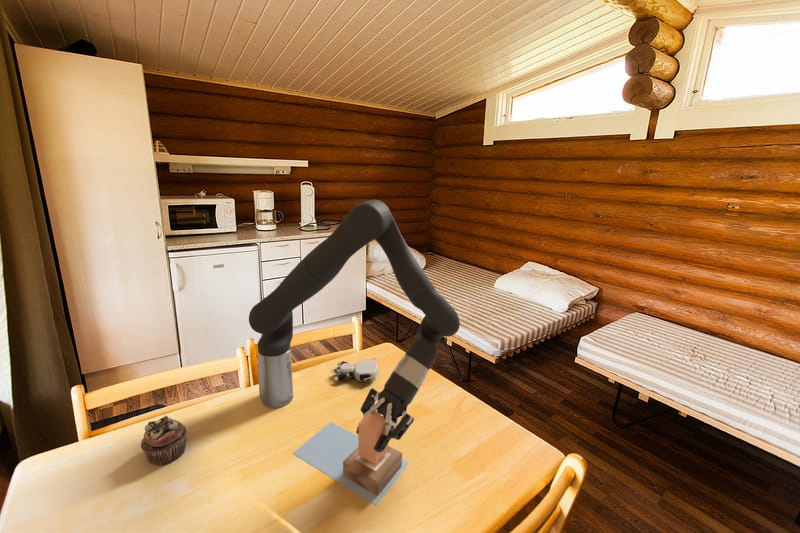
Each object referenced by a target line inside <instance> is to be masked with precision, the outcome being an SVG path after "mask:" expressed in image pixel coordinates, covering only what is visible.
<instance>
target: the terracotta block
mask: <svg viewBox="0 0 800 533" xmlns="http://www.w3.org/2000/svg"><path fill="white" fill-rule="evenodd" d="M385 419H386V418H385V417H384V416H383V415H379V414H377V413H371V412H370V413H369V414H368V415H367V416H366V417H365V418H363V417H362V419H361V420H360V421H359V422H358V425H357V427H358V434H357V436H358V455H359V456H360V457H362V458H364V459H366V460H368V461H369V462H371V463H373V464H375V465H376V464H377V463H378V462H379V461H380V459H381V458H382V457H383V456H384V455H385V454H386V453H387V452H388V446H389V443H388V444H387V446H386V447H385V449H384V450H383V451H381V452H380V453H379V452H377V451H375V450H374V447H375V445H376V444H377V442H378V440H379V438H380V437H381V435H382V434H384V430H385V425H386V424H385Z"/></svg>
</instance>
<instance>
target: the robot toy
mask: <svg viewBox="0 0 800 533" xmlns="http://www.w3.org/2000/svg"><path fill="white" fill-rule="evenodd" d="M376 359H378V357H373V358H361V359H360V360H358V361H357V362H356V363H355V364H354V363H350V362H348V361H338V362H337V367H336V368H335V369H334V372H335V374H336V376H334V377H333V381H335V382H338V381H339V382H341V381H344V380H346V379H350V378H353V377H354V378H355V380H357V381H358V382H370V381H373V380H375V379H376V377H377V376H378V374H379V365H378V362H377V361H376Z"/></svg>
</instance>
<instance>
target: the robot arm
mask: <svg viewBox="0 0 800 533" xmlns="http://www.w3.org/2000/svg"><path fill="white" fill-rule="evenodd" d="M374 240H375V241H376V242H377V243H378V245H379V246H380V247H381V249H382V251H383V252H384V254H385V256H386V257H387V259H388V262H389V264H390V266H391V269H392V272H393V274H394V277H395V278H396V280H397V283H398V285H399V286H400V288H401V289H402V291H403V292H404V294H405V295H406V296H407V298H408V299H409V301H410V303H411V304H412V305H413V306H414V307H415V308H416V309H419V310H420V311H421V312H422V313H423V314H424V317H423V318H422V320H421V321H420V324H419V327H418V329H417V332H416V334H415V337H414V340H413V341H412V343H411V344H410V345H409V347H408V349H407V350H406V352H405V354H404V355H403V356H402V357H401V359H400V360H399V361H398V362H397V365H396V366H395V368H394V369H393V371H391V374H390V376H389V377H388V379H387V380H386V382H385V384H383V390H382V391H380V392H379V391H378V390H376V389H375V388H370V389H369V392H368V394H366V397H365V400H364V401H363V403H362V405H361V407H360V412H361V413H362V414H363V417H362V419H363V418H365V417H366V416H367V415H368V414H369V413H370V412H371V413H377V414H379V415H381V416H383V417H385V418H386V419H385V424H386V425H385V430H384V434H382V435H381V437H380V438H379V440H378V442H377V444H376V445H375V447H374V450H375V451H377V452H379V453H380V452H381V451H383V450H384V449H385V447H386V446H387V444H388V445H389V442H390V441H391V440H392V439H393V440H397V441H400V440H401V439H402V437H403V436H404V434H405V433H406V432H407V430H408V429H409V428H410V427H411V425H412V424H413V422H414V421H415V418H414V417H413V416H412V415H410V414H409V413H408V412H407V411H408V410H407V409H408V406H409V405H410V404H412V402H413V400H414V398H415V397H416V395H417V393H418V391H419V390H420V388H421V386H422V385H423V383H424V381H425V379H426V377H427V375H428V373H429V371H430V370H431V367H433V364H434V362H435V361H436V360H437V358H438V355H439V348H438V345H439V343H440V340H441V338H442V337H445V338H448V337H453V336H454V335H456V334H457V333H458V331H459V329H460V325H461V322H460V317H459V315H458V313H457V310H455V308H454V307H453V306H452V304H450V303H449V301H447V299H446V298H444V296H443V295H442V294H441V293H439V292H438V290H437V289H436V288H435V286H434V284H433V283H432V281H431V280H430V278H429V277H428V275H427V274H426V273H425V271H424V269H423V268H422V267H421V266H420V264H419V263H418V261H417V259H416V258H415V255H413V253H412V251H411V249H410V248H409V246H408V244H407V242H406V240H405V239H404V237H403V235H402V234H401V232H400V230H399V226H398V225H397V222H396V220H395V218H394V216H393V214H392V212H391V210H390V209H389V207H388V205H386V204H385V203H384V202H383V201H382V200H378V199H369V200H365V201H363V202H360V203H358V204H356V205H354V206H353V207H352V208H351V210H350V211H349V212H348V213H347V214H346V215H345V217H344V218H343V219H342V221H341V222H340V223H339V225H338V226H337V227H336V229H334V230H333V231H332V233H331V234H330V235H329V236H328V237H326V238H325V240H323V241H322V242H320V243H319V244H318V245H316V246H315V248H313V249H312V250H311V251H310V252H309V253H307V255H305V256H304V258H303V259H301V260H300V262H298V263H297V265H295V267H294V268H293V269H291V271H290V272H289V273H288V274H287V275H286V277H285V278H284V279H282V281H281V282H280V283H279V285H278V286H277V287H276V288H275V289H274V290H273V291H272V292H270V293H269V294H268V295H266V297H264V298H263V299H262V300H261V301H259V302H258V303H256V304H255V305H254V306H253V307H252V308H251V309H250V312H249V315H248V322H249V327H250V328H251V330H253V331H254V332H255V333H258V334H261V337H260V338H259V339H258V342H257V353H258V354H257V357H258V367H259V370H258V371H257V376H258V378H257V379H258V388H259V398H260V400H261V403H262V405H263V406H265V407H266V408H271V409H277V408H281V407H284V406H287V405H288V404H290V403H291V401H292V400H293V398H294V388H293V386H294V385H293V367H292V353H291V352H292V351H291V347H292V346H291V343H292V341H293V337H294V336H293V335H294V316H293V314H294V313H293V311H294V310H295V309H296V308H297V307H300V305H302V304H304V303H305V302H306V301H308V300H310V299H311V298H313V296H315V295H316V294H318V293H319V292H321V291H322V290H323V289H324V288H325V287H326V286H327V285H328V284H330V282H332V281H333V280H334V279H335V278H336V277H337V275H338V274H339V273H340V271H341V270H343V268H344V266H345V265H346V263H347V262H348V261H349V259H350V258H351V257H352V256H353V255H354V254H356V253H357V252H358V251H360V250H361V249H363V248H364V247H366V246H367V245H368V244H369V243H371V242H373V241H374ZM376 401H377V402H376ZM399 418H400V421H399ZM355 433H356V434H357V435H358V426H357V428H356V432H355Z"/></svg>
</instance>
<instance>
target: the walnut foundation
mask: <svg viewBox="0 0 800 533" xmlns="http://www.w3.org/2000/svg"><path fill="white" fill-rule="evenodd" d="M402 459H403V452H402V451H399V450H397V449H395V448H394V447H391V446H389V445H388V452H387V453H386V454H385V455H384V456H383V457H382V458H381V459H380V461H379V462H378V463H377V464H376V465H375V464H373V463H371V462H369V461H368V460H366V459H364V458H362V457H360V456H359V455H358V447H357V448H356V449H355V450H354V451H353V452H352V453H351V454H350V455H349V456H348V457H347V458H346V459H345V460H344V461H343V476H345V477H347V478H348V479H350V480H351V481H353V482H355V483H356V484H358V485H360V486H361V487H363V488H365V489H366V490H368V491H370V492H371V493H373V494H375V495H376V496H379V494H380V493H381V492H382V490H383V489H384V488H385V487H386V485H387V484H388V483H389V482H390V480H391V479H392V478H393V477H394V475H395V474H396V473H397V472H398V470H399V469H400V468H401V466H402Z"/></svg>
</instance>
